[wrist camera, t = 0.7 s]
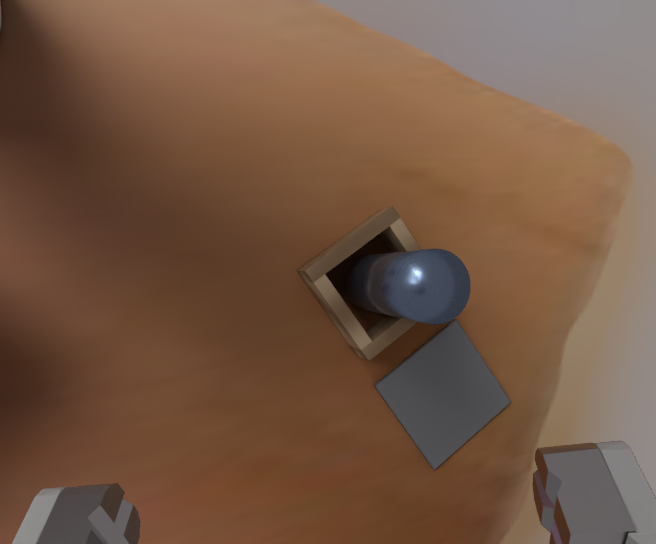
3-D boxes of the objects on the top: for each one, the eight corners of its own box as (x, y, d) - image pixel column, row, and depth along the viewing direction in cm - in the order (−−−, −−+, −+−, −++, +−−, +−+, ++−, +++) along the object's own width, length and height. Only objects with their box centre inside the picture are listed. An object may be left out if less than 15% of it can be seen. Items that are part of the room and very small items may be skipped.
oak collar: (296, 270, 48) (305, 270, 44) (378, 210, 50) (392, 206, 46) (356, 355, 49) (369, 361, 46) (433, 293, 51) (451, 295, 48)
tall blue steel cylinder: (330, 276, 49) (386, 278, 35) (373, 244, 50) (444, 234, 36) (361, 321, 49) (428, 339, 36) (403, 288, 50) (483, 294, 37)
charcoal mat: (373, 385, 50) (375, 386, 49) (454, 319, 52) (456, 319, 51) (432, 468, 51) (434, 469, 51) (508, 400, 53) (511, 401, 53)
